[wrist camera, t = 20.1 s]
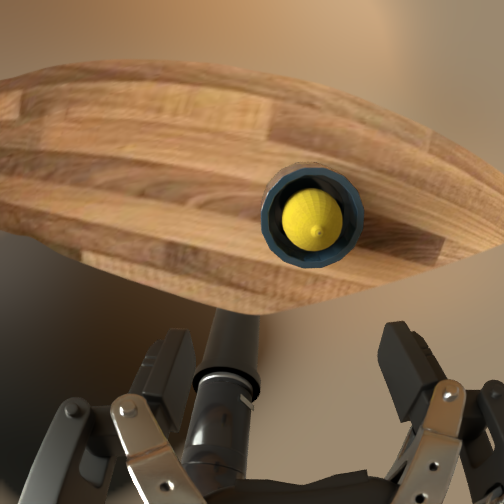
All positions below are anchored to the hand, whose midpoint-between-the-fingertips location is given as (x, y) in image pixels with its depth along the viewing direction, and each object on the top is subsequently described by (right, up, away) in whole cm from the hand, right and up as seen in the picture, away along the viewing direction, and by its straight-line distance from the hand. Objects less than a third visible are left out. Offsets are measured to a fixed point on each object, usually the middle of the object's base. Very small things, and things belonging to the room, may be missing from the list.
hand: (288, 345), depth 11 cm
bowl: (+4, +9, +19) cm, 21 cm away
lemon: (+4, +8, +19) cm, 21 cm away
